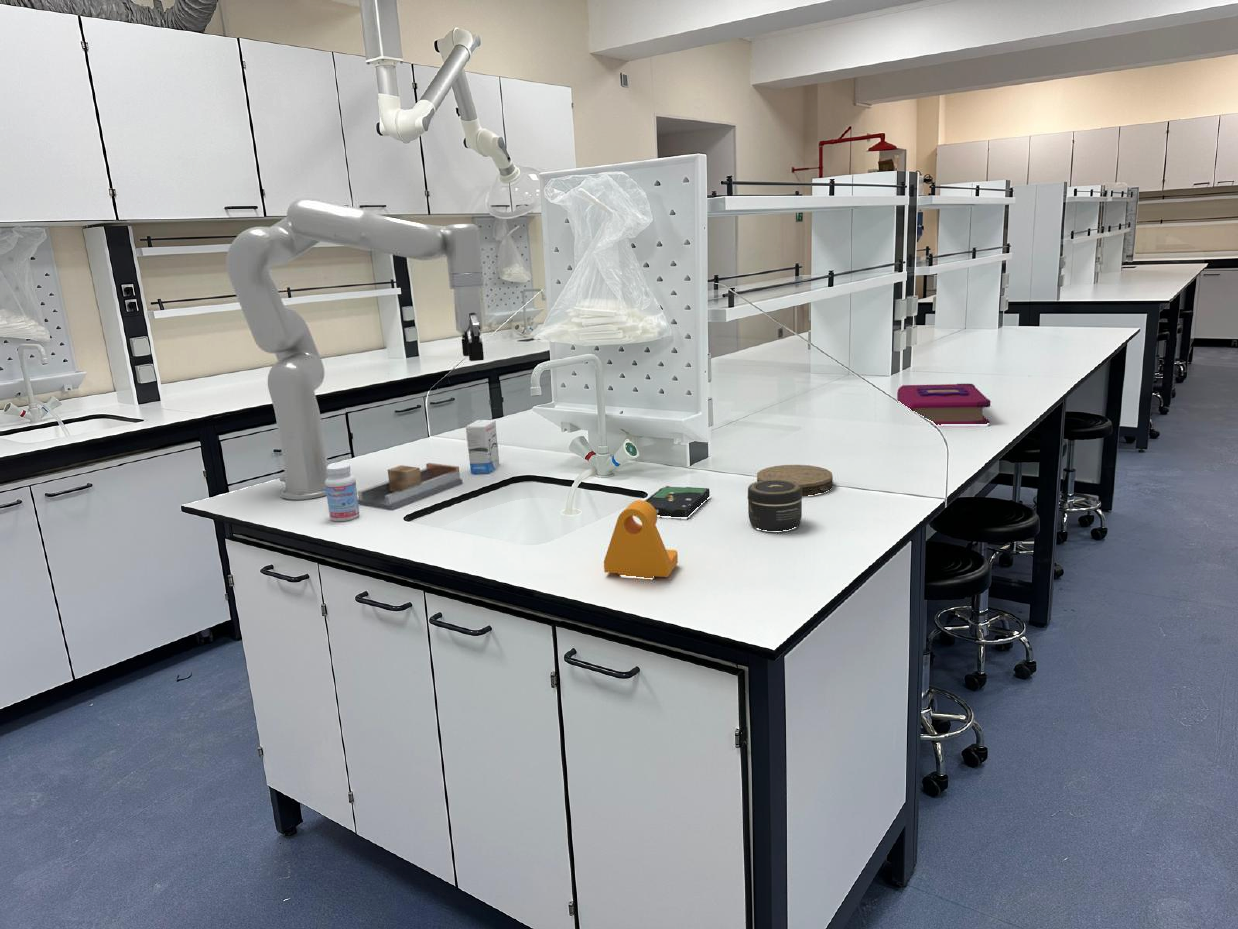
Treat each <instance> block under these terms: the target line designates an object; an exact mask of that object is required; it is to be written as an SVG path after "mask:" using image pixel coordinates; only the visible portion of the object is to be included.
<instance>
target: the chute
mask: <svg viewBox="0 0 1238 929" xmlns="http://www.w3.org/2000/svg"><path fill="white" fill-rule="evenodd" d="M425 466H426V467H425V468H422V469H420V474H421V483H419V484H416V485H413V486H410V487H408V488H405V489H402V490H399V491H397V492H393V491H390V485H389V480H387V481H384V482H381V483H379V484H376V485H373V486H371V487H367V488H363V489H361V490H358V491H357V497H358V505H359V504H360V506H365V507H372V508H377V509H383V510H387V511H388V510H389V511H395V510H397V509H400V508H402V507H406V506H407V505H410V504H413V503H415V502H419V501H420V500H423V499H425V498H428V497H431V496H433V495H436V494H439V493H442V492H444V491H446V490H449V489H451V488H454V487H457V486H460V485H462V484H463V483H464V482H463V479H462V478H461V475H460V466H457V465H449V464H440V463H432V462H428V463H426V464H425Z"/></svg>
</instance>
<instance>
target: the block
mask: <svg viewBox="0 0 1238 929" xmlns="http://www.w3.org/2000/svg"><path fill="white" fill-rule="evenodd" d="M420 470H421V469H420V467H418V466H409V465H397V466H395V467H391V468H388V469H387V477H388V481H389V485H390V491H393V492H397V491H399V490H402V489H405V488H408V487H410V486H413V485H416V484H419V483H421V474H420Z"/></svg>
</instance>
